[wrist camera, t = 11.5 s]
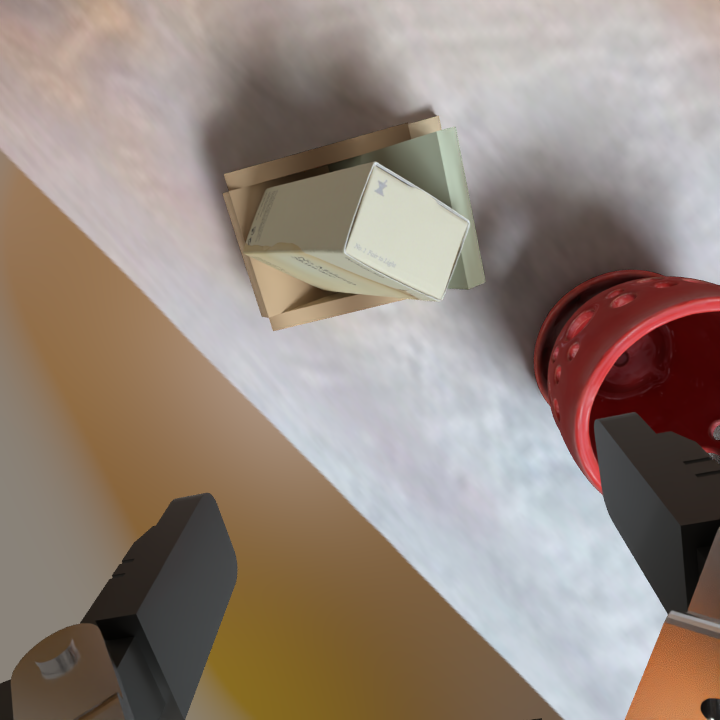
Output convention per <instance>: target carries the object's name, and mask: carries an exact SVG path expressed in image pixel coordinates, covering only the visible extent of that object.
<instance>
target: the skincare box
mask: <svg viewBox="0 0 720 720" xmlns="http://www.w3.org/2000/svg"><path fill="white" fill-rule="evenodd" d="M469 228H470V221H469V220H468V219H467V218H465V217H464V216H462V215H461V214H459V213H458V212H456V211H455V210H453V209H452V208H450V207H448V206H447V205H445V204H444V203H442V202H441V201H439V200H438V199H436V198H435V197H433V196H432V195H430V194H429V193H427V192H425V191H424V190H422V189H420V188H419V187H417V186H415V185H414V184H412V183H411V182H409V181H407V180H406V179H404V178H402V177H401V176H399V175H397V174H396V173H394V172H392V171H391V170H389V169H387V168H385V167H384V166H382V165H381V164H379V163H377V162H370V163H366V164H362V165H358V166H355V167H351V168H347V169H343V170H339V171H334V172H331V173H327V174H323V175H319V176H315V177H310V178H306V179H303V180H299V181H295V182H291V183H287V184H283V185H278V186H274V187H270V188H267V189H266V190H265V192H264V195H263V197H262V200H261V202H260V205H259V207H258V210H257V213H256V215H255V218H254V221H253V223H252V226H251V229H250V231H249V234H248V237H247V240H246V243H245V246H244V249H243V253H244V254H245V255H248V256H250V257H252V258H254V259H256V260H258V261H260V262H262V263H264V264H266V265H268V266H271V267H273V268H275V269H277V270H279V271H281V272H283V273H286V274H288V275H290V276H292V277H294V278H297V279H299V280H301V281H303V282H306V283H308V284H310V285H312V286H315V287H317V288H319V289H321V290H326V291H335V292H344V293H354V294H364V295H374V296H384V297H395V298H405V299H416V300H425V301H436V302H441V301H442V300H443V298H444V295H445V293H446V290H447V287H448V284H449V282H450V279H451V277H452V274H453V271H454V269H455V266H456V264H457V260H458V258H459V255H460V253H461V250H462V247H463V244H464V241H465V239H466V236H467V233H468V230H469Z"/></svg>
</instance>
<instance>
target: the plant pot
mask: <svg viewBox="0 0 720 720" xmlns="http://www.w3.org/2000/svg"><path fill="white" fill-rule="evenodd" d="M534 371H535V377H536V381H537V384H538V387H539V389H540V391H541V393H542V395H543V397H544V398H545V400H546V401H547V403H548V404H549V405H550V407H551V411H552V414H553V417H554V420H555V422H556V424H557V426H558V428H559V430H560V432H561V435H562V437H563V440H564V442H565V444H566V446H567V448H568V450H569V452H570V454H571V455H572V457H573V459H574V460H575V462H576V464H577V465H578V467H579V468H580V470H581V471H582V472H583V474H584V475H585V476H586V478H587V479H588V480H589V482H590V483H591V484H592V485H593V486H594V487H595V488H596V489H597V490H598V491H599V492H600V493H601V494H602V495H603V493H602V487H601V479H600V472H599V464H598V456H597V449H596V441H595V433H594V422H595V420H596V419H601V418H606V417H611V416H616V415H622V414H627V413H632V412H635V413H637V414H638V415H639V416H640V417H641V418H642V419H643V420H644V421H645V422H646V423H647V424H648V425H649V427H650V428H651V429H652V430H653V431H654V432H655V433H656V434H658V433H664V432H669V431H672V432H674V433H676V434H679V435H681V436H683V437H686V438H688V439H690V440H693V441H695V442H696V443H698V444H699V445H700V446H701V447H702V448H703V449H704V450H705V451H706V452H707V453H715V454H717V455H719V456H720V440H715V438H714V437H713V433H714V430H715V428H716V427H717V426H718V425H720V285H717V284H713V283H710V282H706V281H702V280H697V279H692V278H684V277H666V276H663V275H661V274H658V273H654V272H650V271H643V270H621V271H614V272H609V273H605V274H602V275H599V276H596V277H594V278H591V279H589V280H587V281H585V282H583V283H582V284H580V285H578V286H577V287H575V288H574V289H572V290H571V291H570V292H568V293H567V294H566V295H565V296H563V297H562V298H561V299H560V300H559V301H558V302H557V303H556V305H555V306H554V307H553V308H552V309H551V311H550V312H549V314H548V315H547V317H546V319H545V320H544V322H543V324H542V327H541V329H540V331H539V334H538V337H537V340H536V345H535V350H534Z"/></svg>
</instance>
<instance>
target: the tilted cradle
mask: <svg viewBox="0 0 720 720" xmlns="http://www.w3.org/2000/svg"><path fill="white" fill-rule="evenodd" d="M370 162H377V163H379V164H381V165H382V166H384V167H385V168H387V169H389V170H391V171H392V172H394V173H396V174H397V175H399V176H401V177H402V178H404V179H406V180H407V181H409V182H411V183H412V184H414V185H415V186H417V187H419V188H420V189H422V190H424V191H425V192H427V193H429V194H430V195H432V196H433V197H435V198H436V199H438V200H439V201H441V202H442V203H444V204H445V205H447V206H448V207H450V208H452V209H453V210H455V211H456V212H458V213H459V214H461V215H462V216H464V217H465V218H467V219H468V220H469V221H470V228H469V230H468V233H467V236H466V239H465V241H464V244H463V247H462V250H461V253H460V255H459V258H458V260H457V264H456V266H455V269H454V271H453V274H452V277H451V279H450V282H449V284H448V287H447V288H449V289H471V288H473V287H476V286H478V285H481V284H483V283H485V282H486V281H485V276H484V271H483V265H482V260H481V255H480V250H479V245H478V240H477V235H476V229H475V224H474V219H473V214H472V209H471V204H470V199H469V193H468V188H467V183H466V178H465V173H464V168H463V163H462V157H461V152H460V147H459V142H458V137H457V132H456V127H452V128H448V129H444V130H442V129H441V124H440V119H439V116H436V117H432V118H429V119H425V120H421V121H418V122H414V123H411V124H408V123H404V124H401V125H397V126H394V127H390V128H387V129H383V130H380V131H376V132H372V133H369V134H365V135H362V136H358V137H355V138H351V139H347V140H344V141H340V142H337V143H333V144H330V145H326V146H323V147H319V148H315V149H312V150H308V151H305V152H301V153H298V154H294V155H290V156H287V157H283V158H280V159H276V160H273V161H269V162H265V163H262V164H258V165H255V166H251V167H248V168H244V169H241V170H237V171H233V172H230V173H226V174H224V177H225V180H226V183H227V187H228V190H229V191H228V192H225V193H222V194H223V197H224V200H225V203H226V206H227V209H228V212H229V216H230V219H231V222H232V225H233V228H234V231H235V234H236V237H237V241H238V244H239V247H240V250H241V253H242V256H243V259H244V262H245V266H246V269H247V272H248V275H249V278H250V281H251V284H252V288H253V291H254V294H255V297H256V300H257V303H258V306H259V309H260V313H261V316H262V317H267V318H269V319H270V323H271V326H272V329H273V331H276V330H280V329H284V328H289V327H293V326H297V325H301V324H305V323H309V322H313V321H318V320H322V319H326V318H330V317H334V316H338V315H342V314H347V313H351V312H355V311H359V310H363V309H367V308H371V307H376V306H380V305H384V304H388V303H392V302H396V301H401V300H405V298H395V297H384V296H374V295H364V294H354V293H344V292H335V291H326V290H321V289H319V288H317V287H315V286H312V285H310V284H308V283H306V282H303V281H301V280H299V279H297V278H294V277H292V276H290V275H288V274H286V273H283V272H281V271H279V270H277V269H275V268H273V267H271V266H268V265H266V264H264V263H262V262H260V261H258V260H256V259H254V258H252V257H250V256H248V255H245V254H244V253H243V249H244V246H245V243H246V240H247V237H248V234H249V231H250V229H251V226H252V223H253V221H254V218H255V215H256V213H257V210H258V207H259V205H260V202H261V200H262V197H263V195H264V192H265V190H266V189H267V188H270V187H274V186H278V185H283V184H287V183H291V182H295V181H299V180H303V179H306V178H310V177H315V176H319V175H323V174H327V173H331V172H334V171H339V170H343V169H347V168H351V167H355V166H358V165H362V164H366V163H370Z"/></svg>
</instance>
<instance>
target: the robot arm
mask: <svg viewBox="0 0 720 720" xmlns="http://www.w3.org/2000/svg"><path fill="white" fill-rule="evenodd" d="M594 433H595V441H596V449H597V456H598V464H599V472H600V479H601V487H602V493H603V497H604V501H605V504H606V507H607V510H608V513H609V515H610V517H611V519H612V521H613V523H614V525H615V526H616V528H617V530H618V531H619V533H620V535H621V536H622V538H623V540H624V541H625V543H626V545H627V546H628V548H629V550H630V551H631V553H632V555H633V556H634V558H635V560H636V561H637V563H638V565H639V566H640V568H641V570H642V572H643V573H644V575H645V577H646V578H647V580H648V582H649V583H650V585H651V587H652V588H653V590H654V592H655V593H656V595H657V597H658V598H659V600H660V602H661V603H662V605H663V607H664V608H665V610H666V612H667V613H668V616H667V618H666V620H665V622H664V624H663V627H662V629H661V632H660V634H659V637H658V639H657V642H656V644H655V647H654V649H653V651H652V654H651V656H650V659H649V661H648V664H647V666H646V669H645V671H644V674H643V676H642V679H641V681H640V683H639V686H638V688H637V691H636V693H635V696H634V698H633V701H632V703H631V706H630V708H629V710H628V713H627V715H626V718H625V720H720V464H719V463H718V462H716V461H715V460H712V457H711V456H710V455H709V454H708V453H707V452H706V451H705V450H704V449H703V448H702V447H701V446H700V445H699V444H698V443H696V442H695V441H693V440H690V439H688V438H686V437H683V436H681V435H679V434H676V433H674V432H672V431H669V432H664V433H658V434H656V433H655V432H654V431H653V430H652V429H651V428H650V427H649V425H648V424H647V423H646V422H645V421H644V420H643V419H642V418H641V417H640V416H639V415H638V414H637V413H635V412H632V413H627V414H622V415H616V416H611V417H606V418H601V419H596V420H595V422H594ZM112 577H113V578H112V579H109V581H108V582H107V584H106V585H105V587H104V588H103V590H102V591H101V593H100V594H99V596H98V597H97V599H96V600H95V602H94V603H93V605H92V606H91V608H90V609H89V611H88V612H87V614H86V615H85V617H84V618H83V620H82V621H81V622H80V624H76V625H72V626H69V627H66V628H64V629H61V630H59V631H57V632H55V633H53V634H51V635H50V636H48V637H46V638H45V639H43V640H42V641H40V642H39V643H38V644H36V645H35V646H34V647H33V648H32V649H31V650H29V651H28V653H26V654H25V655H24V657H23V658H22V659H21V660H20V661H19V663H18V664H17V666H16V667H15V669H14V671H13V673H12V677H11V680H8V681H5V682H3V683H1V684H0V720H185V718H186V715H187V713H188V710H189V708H190V705H191V702H192V699H193V697H194V694H195V691H196V688H197V686H198V683H199V681H200V678H201V675H202V672H203V670H204V667H205V664H206V662H207V659H208V656H209V654H210V651H211V648H212V645H213V643H214V640H215V637H216V635H217V632H218V629H219V626H220V624H221V621H222V618H223V616H224V613H225V610H226V608H227V605H228V602H229V600H230V597H231V594H232V591H233V589H234V586H235V583H236V579H237V560H236V555H235V551H234V549H233V546H232V543H231V541H230V538H229V535H228V532H227V530H226V527H225V524H224V522H223V519H222V517H221V514H220V511H219V508H218V506H217V503H216V501H215V499H214V497H213V496H212V495H211V494H210V493H203V494H198V495H193V496H188V497H183V498H177V499H174V500H173V501H172V502H171V503H170V505H169V506H168V508H167V509H166V511H165V513H164V514H163V516H162V517H161V519H160V520H159V522H158V523H157V525H156V526H153V527H152V528H150V529H149V530H148V531H147V532H146V533H145V534H144V535H143V536H141V537H140V538H139V539H138V540H137V541H136V542H134V544H133V545H132V547H131V548H130V550H129V551H128V552H127V554H126V556H125V557H124V558H123V560H122V564H120V565H119V566H118V568H117V569H116V570H115V572H114V573H113V575H112ZM533 720H542V718H541V719H533Z"/></svg>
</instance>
